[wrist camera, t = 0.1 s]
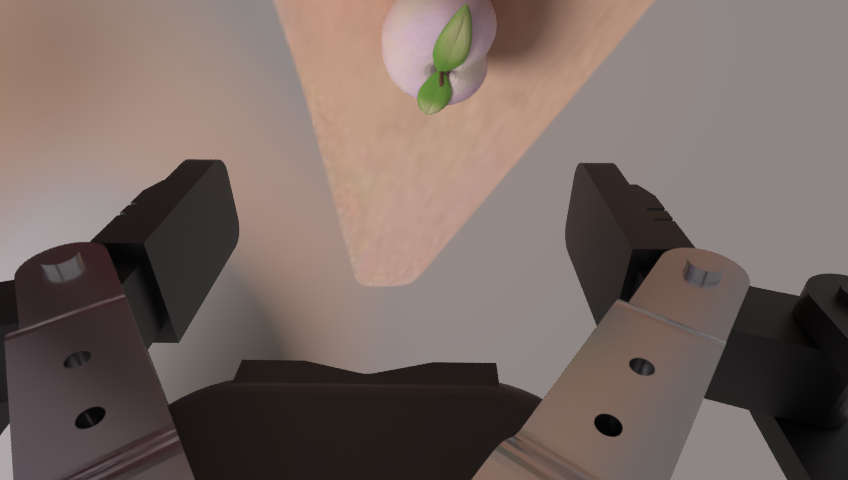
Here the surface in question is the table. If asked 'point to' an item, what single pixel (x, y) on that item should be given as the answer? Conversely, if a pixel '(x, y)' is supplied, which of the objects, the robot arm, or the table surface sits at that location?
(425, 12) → the decorative fruit
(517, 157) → the table surface
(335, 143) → the table surface
